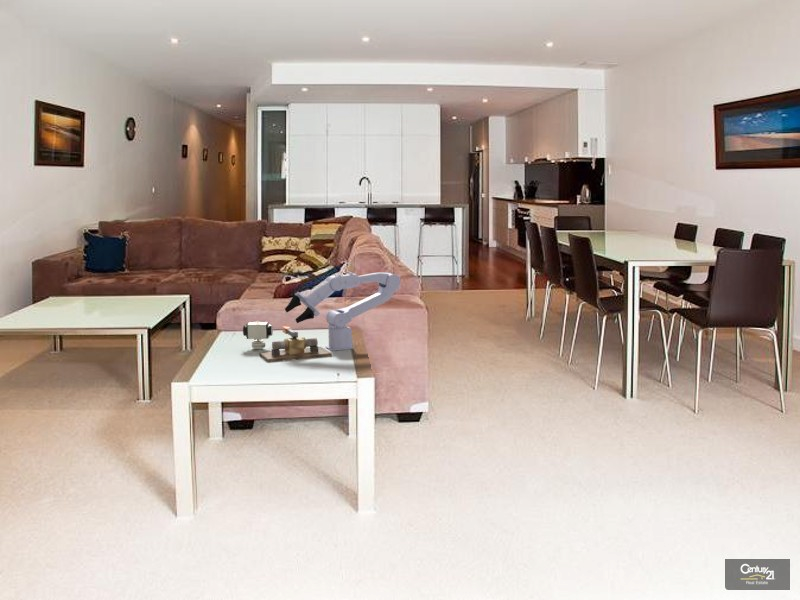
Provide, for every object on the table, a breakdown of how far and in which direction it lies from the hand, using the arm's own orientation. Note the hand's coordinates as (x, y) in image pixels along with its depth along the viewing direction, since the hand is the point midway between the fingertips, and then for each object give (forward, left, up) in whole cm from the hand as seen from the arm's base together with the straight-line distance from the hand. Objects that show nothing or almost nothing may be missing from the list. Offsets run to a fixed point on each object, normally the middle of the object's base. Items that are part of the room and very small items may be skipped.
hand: (291, 316), depth 325 cm
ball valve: (0, +5, -15) cm, 16 cm away
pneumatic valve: (+10, -15, -16) cm, 24 cm away
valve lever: (0, -1, -8) cm, 8 cm away
